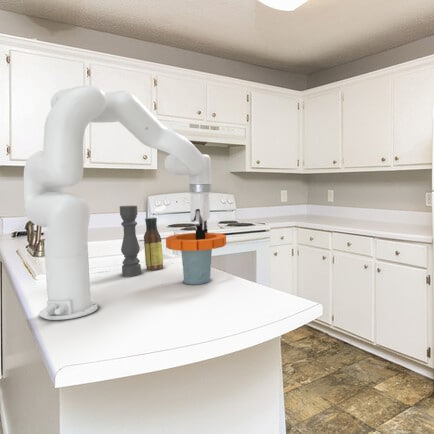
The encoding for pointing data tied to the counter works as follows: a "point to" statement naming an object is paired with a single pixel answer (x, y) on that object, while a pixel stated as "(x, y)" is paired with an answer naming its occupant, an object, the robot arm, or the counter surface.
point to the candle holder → (130, 242)
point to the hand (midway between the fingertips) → (201, 240)
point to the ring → (195, 242)
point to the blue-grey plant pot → (196, 266)
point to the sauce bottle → (153, 245)
